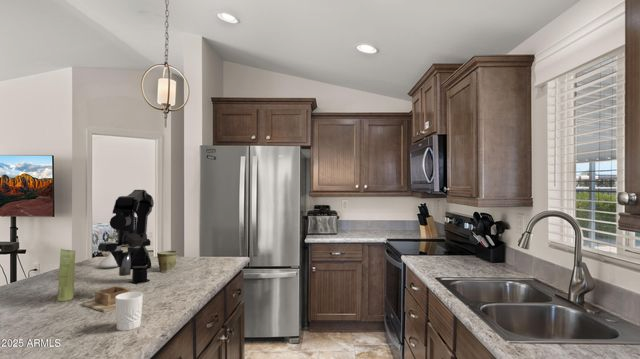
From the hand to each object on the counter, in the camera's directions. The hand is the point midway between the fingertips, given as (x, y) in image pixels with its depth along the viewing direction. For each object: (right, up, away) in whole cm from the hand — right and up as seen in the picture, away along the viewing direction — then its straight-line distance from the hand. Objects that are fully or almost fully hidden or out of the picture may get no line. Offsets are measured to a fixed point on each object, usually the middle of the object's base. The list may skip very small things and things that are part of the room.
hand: (124, 265), depth 138 cm
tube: (-21, -12, -4) cm, 24 cm away
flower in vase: (-35, -13, +49) cm, 62 cm away
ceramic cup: (-2, -14, +43) cm, 45 cm away
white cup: (+18, -13, -28) cm, 36 cm away
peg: (0, -4, 0) cm, 4 cm away
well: (-1, -12, -7) cm, 14 cm away
